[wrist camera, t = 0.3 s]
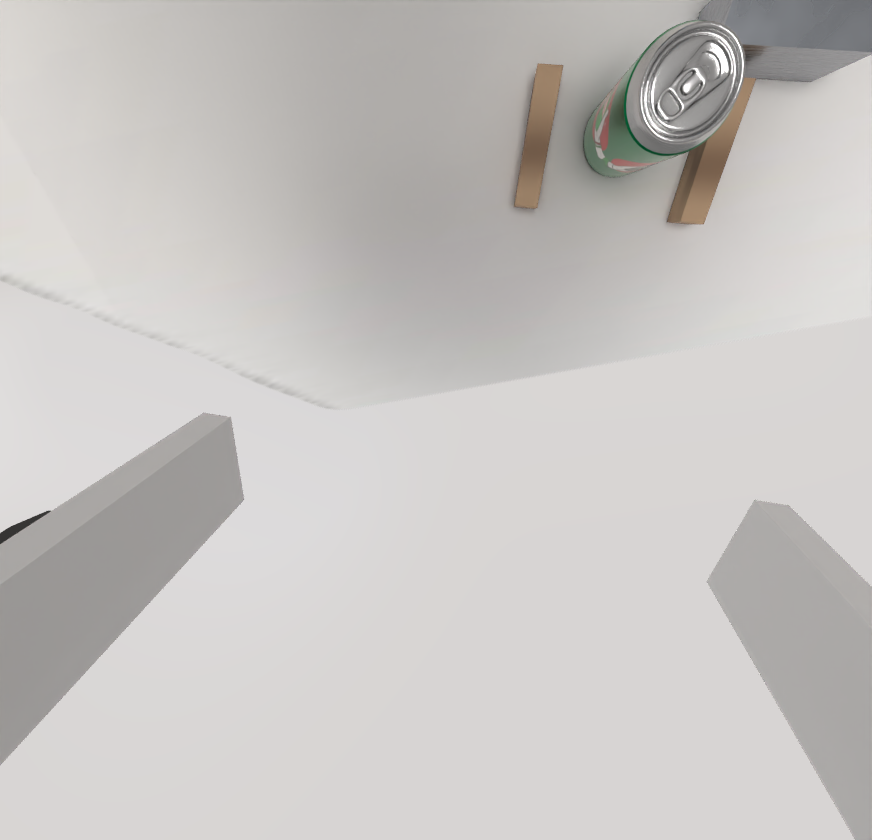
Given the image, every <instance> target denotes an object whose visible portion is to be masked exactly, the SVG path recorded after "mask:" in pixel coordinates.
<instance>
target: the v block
mask: <svg viewBox="0 0 872 840" xmlns="http://www.w3.org/2000/svg"><path fill="white" fill-rule="evenodd" d="M698 20H707V21H715V22H719V23H722V24H724V25H726V26H728V27H729V28H731V29H732V30H733V31H734V32H735V33H736V35H737V36H738V37H739V39H740V41H741V43H742V45H743V49H744V53H745V61H746V66H745V76H744V78H759V79H774V80H789V81H803V82H812V81H814V80H816V79H818V78H820V77H823V76H825V75H827V74H829V73H832V72H834V71H836V70H838V69H840V68H843V67H845V66H847V65H849V64H851V63H854V62H856V61H858V60H860V59H862V58H865V57H867V56H869V55H871V54H872V0H711V1H710V2H709V3H708V4H707V5H706V7H705V8H704V9H703V10H702V11H701V12H700V14H699V18H698Z"/></svg>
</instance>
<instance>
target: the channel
mask: <svg viewBox="0 0 872 840" xmlns="http://www.w3.org/2000/svg"><path fill="white" fill-rule="evenodd" d="M562 70H563V65H551V64H538V65H537V69H536V74H535V78H534V85H533V91H532V97H531V103H530V110H529V116H528V122H527V128H526V135H525V141H524V147H523V153H522V160H521V166H520V172H519V178H518V185H517V191H516V197H515V203H514V207H521V208H531V209H535V208H537V206H538V200H539V195H540V189H541V184H542V179H543V173H544V168H545V162H546V157H547V151H548V146H549V141H550V135H551V130H552V124H553V119H554V113H555V108H556V102H557V97H558V92H559V86H560V81H561V75H562ZM755 80H756V78H744V81H743V84H742V88H741V91H740V93H739V95H738V97H737V100H736V102H735V104H734V106H733V108H732V110H731V112H730V113H729V115H728V117H727V118H726V120H725V121H724V123H723V124H722V125H721V126H720V128H719V129H718V130H717V131H716V132H715V133H714V134H713V135H712V136H711V137H710V138H709V139H707V140H706V141H705V142H704V143H702V144H701V145H699V146H698V147H696V148H694V149H692V150H690V151H689V154H688V157H687V160H686V164H685V167H684V170H683V173H682V176H681V179H680V182H679V185H678V189H677V192H676V195H675V198H674V201H673V204H672V207H671V210H670V214H669V217H668V220H667V222H672V223H682V224H704V222H705V219H706V217H707V214H708V211H709V208H710V205H711V203H712V200H713V197H714V194H715V192H716V189H717V186H718V183H719V180H720V178H721V175H722V172H723V169H724V167H725V164H726V161H727V158H728V155H729V153H730V150H731V147H732V144H733V141H734V139H735V136H736V133H737V130H738V128H739V125H740V122H741V119H742V116H743V114H744V111H745V108H746V105H747V102H748V100H749V97H750V94H751V91H752V89H753V86H754V83H755Z"/></svg>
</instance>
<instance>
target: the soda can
mask: <svg viewBox="0 0 872 840" xmlns="http://www.w3.org/2000/svg"><path fill="white" fill-rule="evenodd" d="M745 66H746V61H745V53H744V49H743V45H742V43H741V41H740V39H739V37H738V36H737V35H736V33H735V32H734V31H733V30H732V29H731V28H729V27H728V26H726V25H724V24H722V23H719V22H715V21H707V20H694V21H688V22H684V23H681V24H679V25H676V26H674V27H672V28H670V29H669V30H667V31H665V32H664V33H663V34H661V35H660V36H659V37H657V38H656V39H655V40H654V41H653V42H652V43H651V44H650V45H649V46H648V47H647V49H646V50H645V51H644V52H643V53H642V55H641V56H640V57H639V58H638V59H637V60H636V62H635V63H634V64H633V65H632V66H631V68H630V69H629V70H628V71H627V72H626V74H625V75H624V76H623V77H622V78H621V79H620V81H619V82H618V83H617V84H616V85H615V87H614V88H613V89H612V90H611V91H610V93H609V94H608V95H607V96H606V97H605V98H604V100H603V101H602V102H601V103H600V104H599V106H598V107H597V108H596V109H595V111H594V112H593V114H592V115H591V117H590V119H589V121H588V123H587V126H586V130H585V134H584V151H585V156H586V158H587V161H588V162H589V164H590V166H591V167H592V168H593V169H594V170H595V171H596V172H598V173H599V174H601V175H604V176H607V177H621V176H625V175H628V174H630V173H633V172H636V171H638V170H641V169H644V168H646V167H649V166H651V165H654V164H657V163H659V162H662V161H665V160H667V159H670V158H673V157H675V156H678V155H680V154H683V153H686V152H688V151H690V150H692V149H694V148H696V147H698V146H699V145H701V144H702V143H704V142H705V141H706V140H707V139H709V138H710V137H711V136H712V135H713V134H714V133H715V132H716V131H717V130H718V129H719V128H720V126H721V125H722V124H723V123H724V121H725V120H726V118H727V117H728V115H729V113H730V112H731V110H732V108H733V106H734V104H735V102H736V100H737V97H738V95H739V93H740V91H741V88H742V84H743V81H744V76H745Z"/></svg>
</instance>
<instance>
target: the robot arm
mask: <svg viewBox="0 0 872 840" xmlns="http://www.w3.org/2000/svg"><path fill="white" fill-rule="evenodd" d="M243 500H244V497H243V490H242V484H241V478H240V472H239V466H238V459H237V453H236V446H235V440H234V434H233V428H232V422H231V417H227V416H221V415H214V414H208V413H202V414H201V415H200V416H198V417H196V418H195V419H193V420H192V421H190V422H189V423H187V424H186V425H184V426H182V427H181V428H179V429H178V430H176V431H175V432H173V433H172V434H170V435H168V436H167V437H165V438H164V439H162V440H161V441H159V442H158V443H156V444H155V445H153V446H152V447H150V448H148V449H147V450H145V451H144V452H142V453H141V454H139V455H138V456H136V457H134V458H133V459H131V460H130V461H128V462H127V463H125V464H124V465H122V466H120V467H119V468H118V469H116V470H114V471H113V472H111V473H110V474H108V475H107V476H105V477H104V478H102V479H100V480H99V481H97V482H96V483H94V484H93V485H91V486H90V487H88V488H87V489H85V490H83V491H82V492H80V493H79V494H77V495H76V496H74V497H73V498H71V499H69V500H68V501H66V502H65V503H63V504H62V505H60V506H59V507H57V508H56V509H54V510H53V511H46V512H44V513H42V514H39V515H37V516H34V517H32V518H30V519H27V520H25V521H23V522H20V523H18V524H16V525H13V526H11V527H9V528H8V529H6V530H5V531H3V532H1V533H0V765H1V764H2V763H3V762H4V761H5V760H6V758H7V757H8V756H9V755H10V754H11V753H12V752H13V751H14V750H15V749H16V748H17V746H18V745H19V744H20V743H21V742H22V741H23V740H24V739H25V738H26V737H27V736H28V734H29V733H30V732H31V731H32V730H33V729H34V728H35V727H36V726H37V725H38V723H39V722H40V721H41V720H42V719H43V718H44V717H45V716H46V715H47V714H48V713H49V712H50V711H51V709H52V708H53V707H54V706H55V705H56V704H57V703H58V702H59V701H60V700H61V699H62V697H63V696H64V695H65V694H66V693H67V692H68V691H69V690H70V689H71V688H72V687H73V685H74V684H75V683H76V682H77V681H78V680H79V679H80V678H81V677H82V676H83V675H84V674H85V672H86V671H87V670H88V669H89V668H90V667H91V666H92V665H93V664H94V663H95V661H96V660H97V659H98V658H99V657H100V656H101V655H102V654H103V653H104V652H105V651H106V650H107V648H108V647H109V646H110V645H111V644H112V643H113V642H114V641H115V640H116V638H118V636H119V635H120V634H121V633H122V632H123V631H124V630H125V629H126V628H127V627H128V626H129V625H130V623H131V622H132V621H133V620H134V619H135V618H136V617H137V616H138V615H139V614H140V613H141V611H142V610H143V609H144V608H145V607H146V606H147V605H148V604H149V603H150V601H151V600H152V599H153V598H154V597H155V596H156V595H157V594H158V593H159V592H160V591H161V589H162V588H163V587H164V586H165V585H166V584H167V583H168V582H169V581H170V580H171V579H172V578H173V576H175V574H176V573H177V572H178V571H179V570H180V569H181V568H182V567H183V566H184V565H185V564H186V562H187V561H188V560H189V559H190V558H191V557H192V556H193V555H194V553H196V551H197V550H198V549H199V548H200V547H201V546H202V545H203V544H204V543H205V542H206V541H207V539H208V538H209V537H210V536H211V535H212V534H213V533H214V532H215V531H216V530H217V529H218V527H220V525H221V524H222V523H223V522H224V521H225V520H226V519H227V518H228V517H229V516H230V515H231V513H232V512H233V511H234V510H235V509H236V508H237V507H238V506H239V505H240V504H241V503H242V501H243ZM707 583H708V584H709V586H710V588H711V590H712V591H713V593H714V595H715V597H716V598H717V600H718V602H719V604H720V605H721V607H722V609H723V611H724V612H725V614H726V616H727V617H728V619H729V621H730V623H731V625H732V626H733V628H734V630H735V631H736V633H737V635H738V637H739V638H740V640H741V642H742V644H743V645H744V647H745V649H746V651H747V652H748V654H749V656H750V658H751V659H752V661H753V663H754V665H755V666H756V668H757V670H758V671H759V673H760V675H761V677H762V678H763V680H764V682H765V684H766V685H767V687H768V689H769V690H770V692H771V694H772V696H773V698H774V699H775V701H776V703H777V704H778V706H779V708H780V710H781V712H782V713H783V715H784V717H785V718H786V720H787V722H788V724H789V725H790V727H791V729H792V731H793V732H794V734H795V736H796V738H797V739H798V741H799V743H800V745H801V746H802V748H803V750H804V751H805V753H806V755H807V757H808V758H809V760H810V762H811V764H812V765H813V767H814V769H815V770H816V772H817V774H818V776H819V777H820V779H821V781H822V783H823V785H824V786H825V788H826V790H827V791H828V793H829V795H830V797H831V799H832V800H833V802H834V804H835V805H836V807H837V809H838V810H839V812H840V814H841V816H842V818H843V819H844V821H845V823H846V825H847V826H848V828H849V830H850V832H851V833H852V835H853V837H854V839H855V840H872V587H871V586H870V585H869V584H868V583H867V582H866V581H865V580H864V579H863V578H862V577H861V576H860V575H859V574H858V573H857V572H856V571H855V570H854V569H853V568H852V567H851V566H850V565H849V564H848V563H847V562H846V561H845V560H844V559H843V558H842V557H841V556H840V555H839V554H838V553H837V552H836V551H835V550H834V549H833V548H832V547H831V546H830V545H829V544H827V542H826V541H824V540H823V539H822V538H821V537H820V536H819V535H818V534H817V533H816V532H815V531H814V530H813V529H812V528H811V527H810V526H809V525H808V524H807V523H806V522H805V521H804V520H803V519H802V518H801V517H800V516H799V515H798V514H797V513H796V512H795V511H794V510H793V509H792V508H791V507H790V506H788V505H783V504H775V503H770V502H763V501H757V500H754V502H753V503H752V505H751V507H750V509H749V510H748V512H747V514H746V516H745V517H744V519H743V521H742V522H741V524H740V526H739V527H738V529H737V531H736V532H735V534H734V536H733V538H732V539H731V541H730V543H729V544H728V546H727V548H726V549H725V551H724V553H723V555H722V557H721V558H720V560H719V562H718V563H717V565H716V567H715V568H714V570H713V572H712V573H711V575H710V577H709V578H708V580H707Z"/></svg>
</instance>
